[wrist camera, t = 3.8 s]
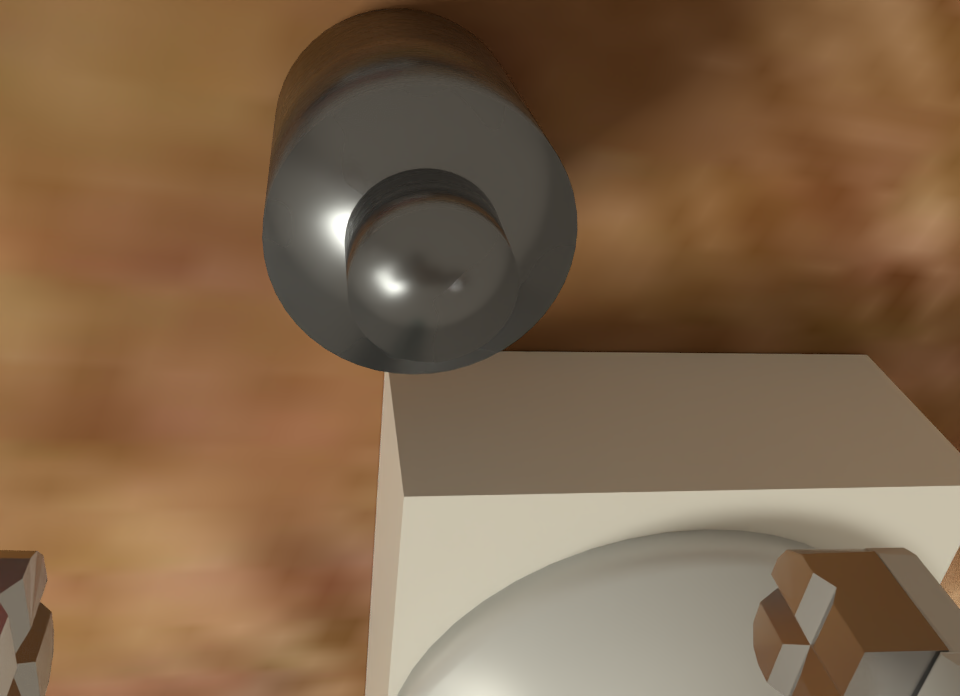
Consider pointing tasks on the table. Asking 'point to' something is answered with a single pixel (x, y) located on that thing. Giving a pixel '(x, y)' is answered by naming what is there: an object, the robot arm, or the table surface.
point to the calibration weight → (412, 197)
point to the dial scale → (630, 514)
